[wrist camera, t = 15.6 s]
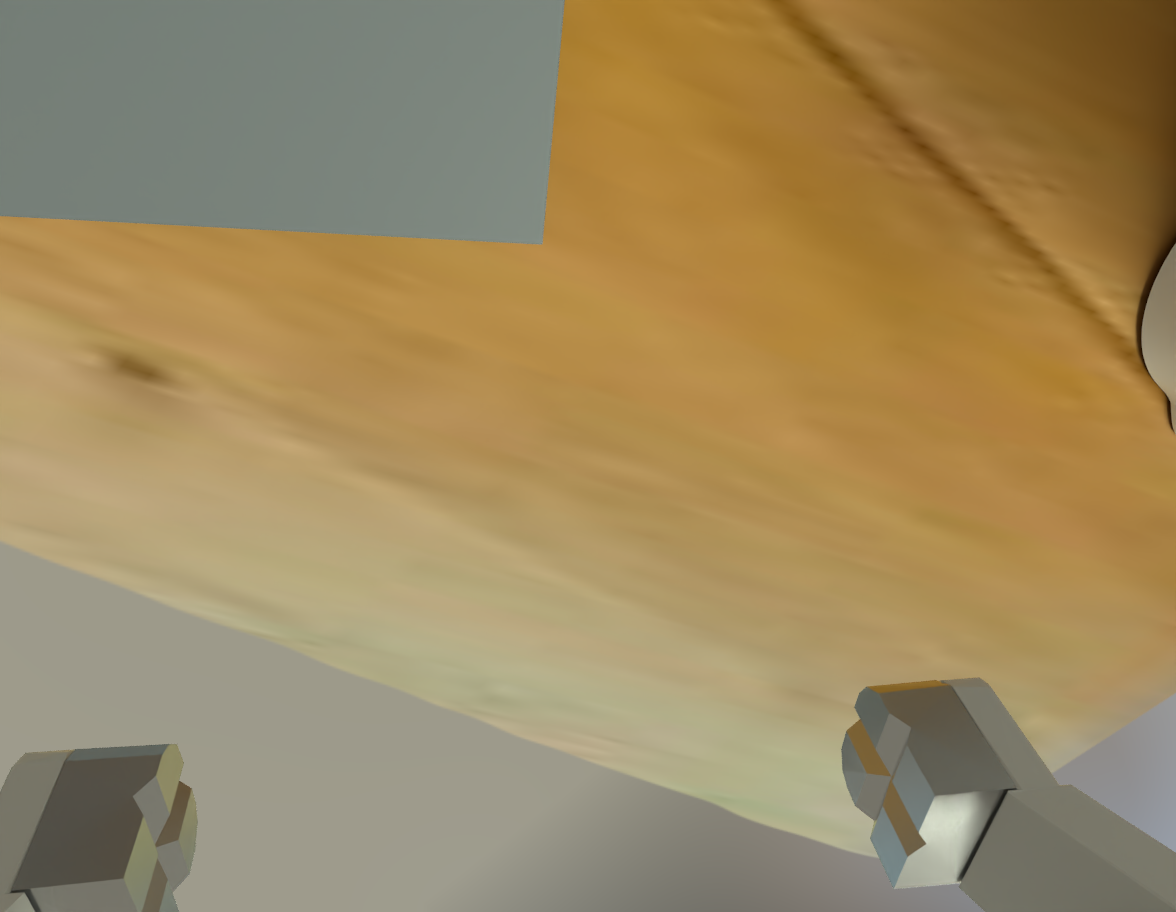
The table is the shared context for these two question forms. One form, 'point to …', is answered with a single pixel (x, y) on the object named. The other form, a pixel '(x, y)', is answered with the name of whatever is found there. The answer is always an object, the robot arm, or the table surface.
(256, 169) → the post board
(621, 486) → the table surface
